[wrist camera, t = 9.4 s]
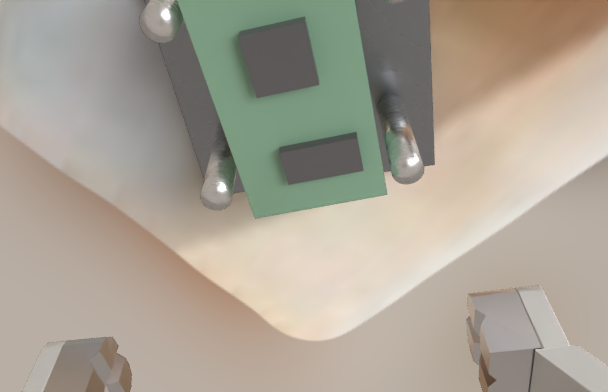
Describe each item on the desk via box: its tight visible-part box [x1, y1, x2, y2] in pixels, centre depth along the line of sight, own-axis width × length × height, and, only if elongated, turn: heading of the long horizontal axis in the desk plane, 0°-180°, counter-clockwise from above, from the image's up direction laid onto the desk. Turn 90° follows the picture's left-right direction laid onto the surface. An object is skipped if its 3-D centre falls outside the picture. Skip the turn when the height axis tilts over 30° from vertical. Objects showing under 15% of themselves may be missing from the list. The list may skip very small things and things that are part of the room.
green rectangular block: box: [177, 0, 387, 219], centre depth 23 cm, size 10×6×5 cm, turn 13°
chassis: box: [139, 0, 435, 210], centre depth 25 cm, size 16×13×7 cm
